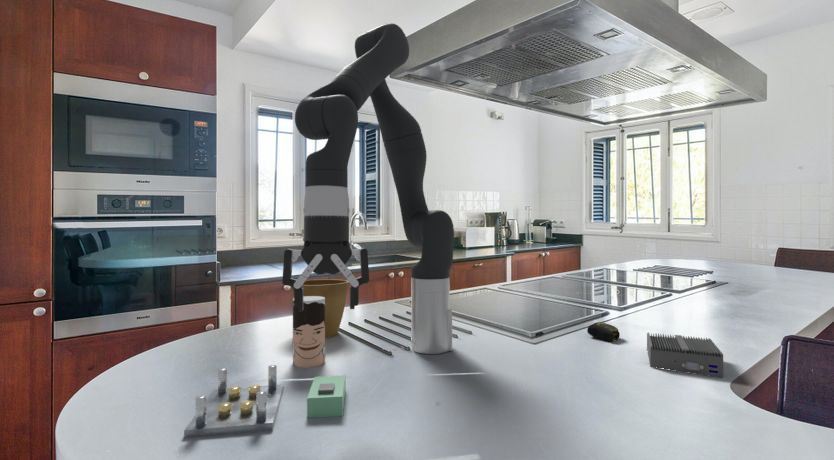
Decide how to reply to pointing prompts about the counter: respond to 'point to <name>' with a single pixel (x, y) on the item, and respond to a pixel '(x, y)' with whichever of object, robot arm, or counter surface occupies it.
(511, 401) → the counter surface
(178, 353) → the counter surface
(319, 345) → the printed cylinder
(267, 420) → the chassis
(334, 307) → the plant pot
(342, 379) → the green block
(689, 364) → the electronic device
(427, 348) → the robot arm
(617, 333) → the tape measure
